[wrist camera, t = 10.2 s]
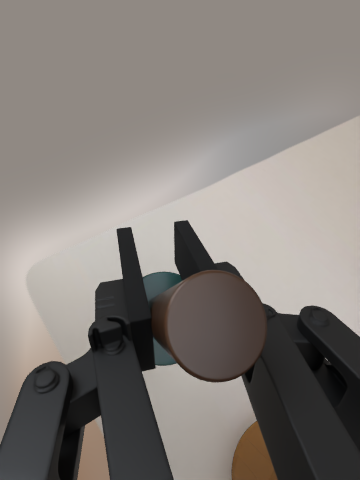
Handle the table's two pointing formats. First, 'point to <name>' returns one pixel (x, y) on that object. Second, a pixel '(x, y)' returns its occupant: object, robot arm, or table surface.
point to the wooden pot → (252, 457)
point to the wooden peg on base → (206, 323)
